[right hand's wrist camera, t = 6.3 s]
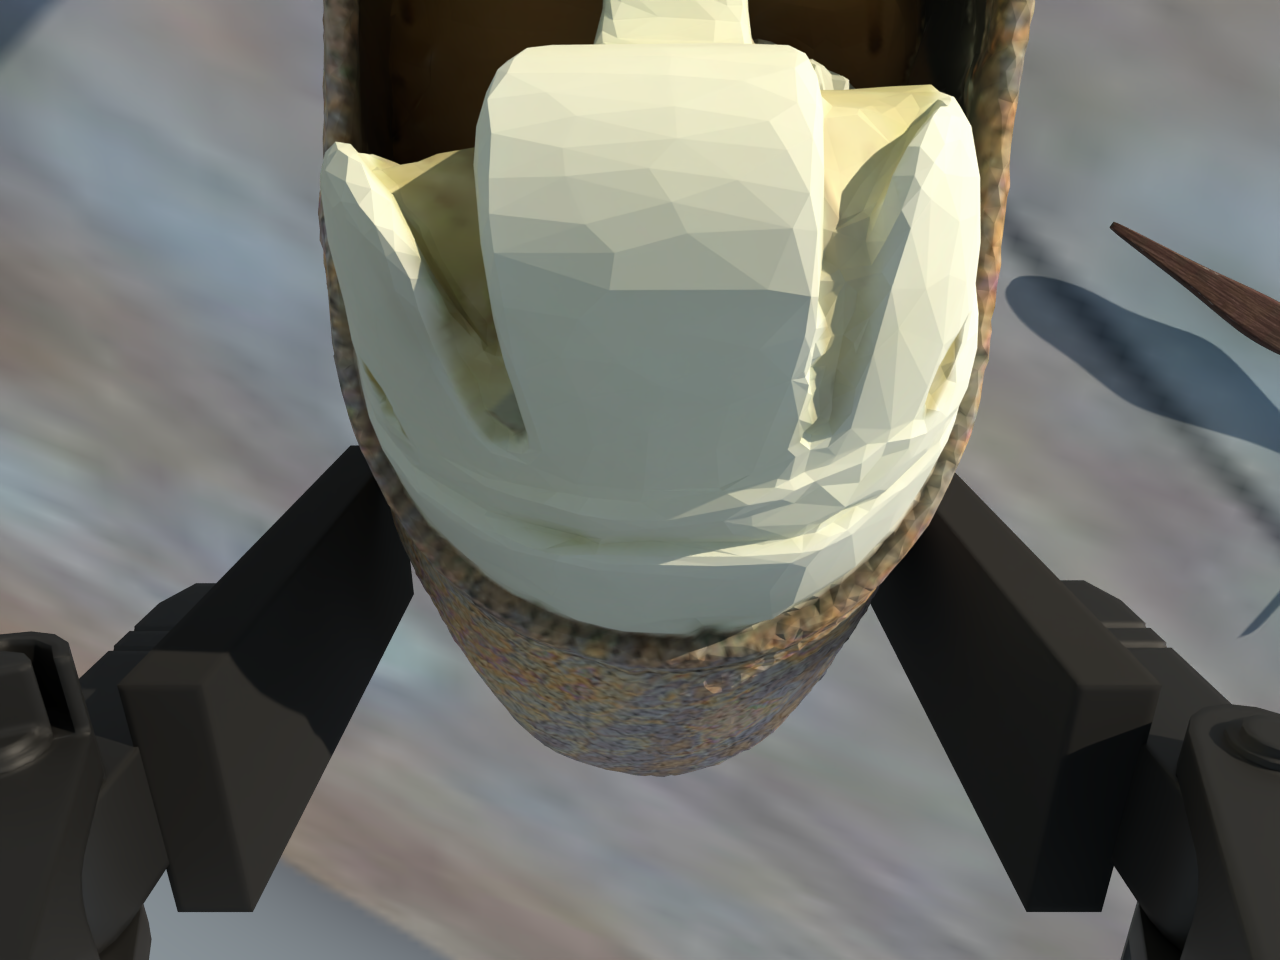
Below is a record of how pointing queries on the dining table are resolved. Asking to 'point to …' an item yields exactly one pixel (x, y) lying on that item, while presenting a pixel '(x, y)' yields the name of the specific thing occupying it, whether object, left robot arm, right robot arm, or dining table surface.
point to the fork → (1215, 291)
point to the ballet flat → (663, 330)
